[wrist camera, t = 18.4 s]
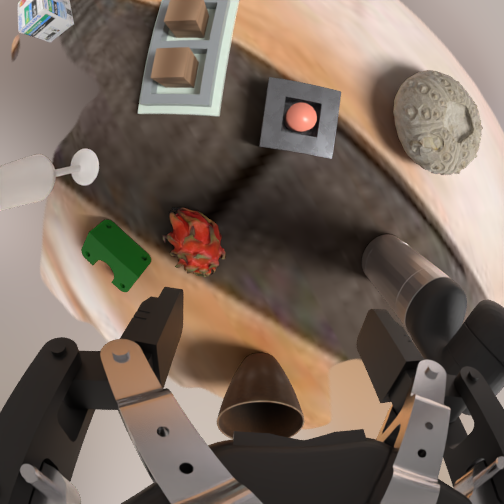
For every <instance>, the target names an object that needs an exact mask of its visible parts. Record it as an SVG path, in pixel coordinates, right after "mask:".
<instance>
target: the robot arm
mask: <svg viewBox="0 0 504 504" xmlns="http://www.w3.org/2000/svg"><path fill="white" fill-rule="evenodd" d="M362 268H363V271H364V273H365V275H366V276H367V277H368V279H369V280H370V281H371V282H372V284H373V285H374V286H375V288H376V289H377V290H378V292H379V293H380V294H381V295H382V297H383V298H384V299H385V301H386V302H387V303H388V305H389V306H390V307H391V309H392V310H393V311H394V313H395V314H396V315H397V317H398V318H399V319H400V321H401V322H402V324H403V325H404V326H405V328H406V329H407V331H408V332H409V333H410V335H411V337H412V340H413V342H414V343H415V344H414V343H413V342H412V340H411V339H410V337H409V336H408V334H407V333H406V331H405V330H404V329H403V327H402V326H400V325H399V324H398V323H397V322H395V321H394V320H393V318H392V317H391V315H390V314H389V313H388V311H387V310H379V309H371V310H369V311H368V313H367V316H366V318H365V321H364V323H363V326H362V328H361V331H360V333H359V336H358V339H357V349H358V352H359V354H360V356H361V359H362V361H363V363H364V365H365V368H366V370H367V372H368V375H369V377H370V379H371V382H372V384H373V386H374V389H375V391H376V393H377V396H378V398H379V401H380V403H385V402H392V405H391V407H390V408H389V410H388V412H387V415H386V418H385V420H384V423H383V425H382V427H381V430H380V432H379V434H378V437H377V439H376V440H375V439H371V438H366V437H365V433H364V430H363V429H360V430H351V431H340V432H333V433H330V434H327V435H323V436H320V437H316V438H313V439H309V440H298V439H293V438H288V437H283V436H278V435H274V434H270V433H254V432H240V431H234V434H233V440H227V441H221V442H217V443H214V444H211V445H207V444H206V443H205V441H204V440H203V438H202V437H201V436H200V434H199V433H198V432H197V430H196V429H195V427H194V426H193V424H192V423H191V422H190V420H189V419H188V417H187V416H186V414H185V413H184V412H183V410H182V408H181V407H180V405H179V404H178V402H177V400H176V399H175V397H174V396H173V394H172V393H171V391H170V390H169V389H167V388H166V389H163V388H164V385H165V382H166V379H167V376H168V373H169V370H170V366H171V363H172V360H173V357H174V354H175V351H176V348H177V345H178V343H179V340H180V337H181V333H182V328H183V290H182V289H176V288H170V287H164V289H163V290H162V292H161V294H160V296H159V297H158V298H157V297H150V298H148V299H147V300H145V301H144V302H142V304H141V305H140V307H139V308H138V311H137V312H136V313H135V315H134V318H132V320H131V321H130V323H129V325H128V326H127V328H126V329H125V331H124V333H123V334H122V336H121V338H120V339H117V340H113V341H110V342H108V343H107V344H105V345H104V346H103V348H102V349H101V351H79V350H78V347H77V345H76V343H75V342H74V341H72V340H71V339H68V338H62V337H61V338H55V339H52V340H50V341H48V342H47V343H46V344H45V345H44V346H43V347H42V349H41V350H40V352H39V353H38V355H37V356H36V357H35V359H34V360H33V362H32V363H31V364H30V366H29V367H28V369H27V370H26V372H25V373H24V375H23V376H22V378H21V380H20V381H19V383H18V384H17V386H16V387H15V389H14V391H13V392H12V394H11V395H10V397H9V399H8V400H7V402H6V404H5V405H4V407H3V409H2V411H1V412H0V504H81V497H80V494H79V492H78V490H77V489H76V488H75V486H74V485H73V484H72V483H70V481H71V478H72V474H73V471H74V468H75V464H76V462H77V458H78V456H79V452H80V450H81V446H82V444H83V441H84V438H85V435H86V433H87V430H88V427H89V424H90V422H91V419H92V417H93V414H94V411H95V409H102V410H118V411H119V414H120V416H121V419H122V421H123V423H124V425H125V428H126V430H127V432H128V434H129V436H130V438H131V440H132V443H133V445H134V447H135V449H136V451H137V453H138V455H139V457H140V459H141V461H142V462H143V465H144V466H145V468H146V470H147V472H148V474H149V475H150V477H151V479H152V480H153V482H154V483H153V484H151V485H150V486H148V487H147V488H145V489H144V490H142V491H141V492H139V493H137V494H136V495H135V496H133V497H131V498H130V499H128V500H126V501H124V502H123V503H121V504H504V409H503V407H502V406H501V404H500V402H499V401H498V399H497V397H496V395H497V394H498V393H499V392H500V390H501V389H502V388H503V387H504V308H503V307H502V306H501V305H499V304H497V303H496V302H494V301H491V300H483V301H481V302H480V303H479V304H478V305H477V306H476V307H475V308H474V310H473V311H472V312H471V314H470V315H469V316H468V318H467V319H466V320H465V322H464V323H463V320H464V317H465V313H466V308H467V299H466V294H465V292H464V290H463V289H462V288H461V287H460V286H459V285H458V284H457V283H456V282H455V281H454V280H452V279H451V278H450V277H449V276H447V275H446V274H445V273H444V272H442V271H441V270H440V269H439V268H437V267H436V266H435V265H434V264H432V263H431V262H430V261H428V260H427V259H426V258H425V257H423V256H422V255H421V254H419V253H418V252H417V251H415V250H414V249H413V248H411V247H410V246H409V245H408V244H406V243H405V242H403V241H402V240H401V239H399V238H398V237H396V236H394V235H390V234H385V235H381V236H378V237H377V238H375V239H374V240H372V241H371V242H370V243H369V244H368V246H367V247H366V249H365V250H364V253H363V256H362ZM462 323H463V324H462ZM461 325H462V326H461ZM415 345H416V346H417V347H416V346H415ZM417 348H418V349H417ZM419 351H420V352H419ZM421 354H422V355H421ZM461 413H463V414H466V415H471V416H472V418H473V420H474V429H473V431H472V432H471V433H470V434H469V435H467V433H466V431H465V429H464V427H463V425H462V423H461V420H460V418H459V416H460V415H461ZM443 458H444V461H445V463H446V466H447V469H448V472H449V475H450V478H451V481H452V484H453V487H454V488H452V487H450V486H449V485H447V484H445V483H444V482H442V481H441V480H439V479H438V475H439V471H440V467H441V463H442V459H443Z"/></svg>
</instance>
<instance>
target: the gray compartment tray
mask: <svg viewBox="0 0 504 504" xmlns="http://www.w3.org/2000/svg"><path fill="white" fill-rule="evenodd" d="M169 2H170V0H162V2H161V5H160V8H159V12H158V15H157V19H156V22H155V26H154V30H153V34H152V38H151V42H150V47H149V51H148V56H147V60H146V65H145V71H144V76H143V82H142V87H141V94H140V100H139V107H138V114H181V115H202V116H217V117H219V116H220V109H221V102H222V95H223V88H224V82H225V76H226V70H227V64H228V58H229V52H230V46H231V41H232V35H233V30H234V25H235V20H236V15H237V10H238V5H239V0H204V2H205V5H206V8H207V11H208V14H209V19H208V24H207V28H206V32H205V36H204V38H176V37H175V35H174V34H173V33H172V32H171V30H170V29H169V28H168V26H167V25H166V24H165V22H164V19H165V15H166V12H167V9H168V5H169ZM176 47H189V48H190V49H191V51H192V52H193V54H194V55H195V57H196V58H197V60H198V61H199V64H198V70H197V76H196V82H195V88H166V87H164V86H163V85H161V84H160V83H158V82H156V81H155V80H153V79H152V78H151V73H152V68H153V63H154V58H155V53H156V49H157V48H176Z"/></svg>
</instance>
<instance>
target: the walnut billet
mask: <svg viewBox="0 0 504 504" xmlns="http://www.w3.org/2000/svg"><path fill="white" fill-rule="evenodd" d="M208 19H209V14H208V11H207V8H206V5H205V2H204V0H170V2H169V5H168V9H167V12H166V15H165V19H164V22H165V24H166V25H167V26H168V28H169V29H170V30H171V32H172V33H173V34H174V35H175V37H176V38H204V36H205V32H206V28H207V24H208Z"/></svg>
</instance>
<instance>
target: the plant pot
mask: <svg viewBox="0 0 504 504" xmlns="http://www.w3.org/2000/svg"><path fill="white" fill-rule="evenodd" d="M303 425H304V416H303V413H302V410H301V408H300V405H299V402H298V399H297V396H296V394H295V392H294V389H293V387H292V385H291V383H290V381H289V379H288V377H287V376H286V374H285V372H284V371H283V369H282V367H281V366H280V364H279V363H278V362H277V360H276V359H275V358H274V357H273V356H271V355H269V354H266V353H254V354H251V355H249V356H247V357H246V358H245V359H244V361H243V362H242V364H241V365H240V367H239V368H238V370H237V372H236V373H235V375H234V377H233V379H232V381H231V383H230V385H229V387H228V390H227V392H226V394H225V397H224V399H223V402H222V405H221V408H220V412H219V415H218V419H217V426H218V428H219V430H220V431H221V432H222V433H223V434H224V435H226V436H227V437H229V438H231V439H233V434H234V431H240V432H254V433H270V434H274V435H278V436H283V437H288V438H290V437H292V436H294V435H295V434H297V433H298V432H299V431H300V430H301V429H302V427H303Z"/></svg>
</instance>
